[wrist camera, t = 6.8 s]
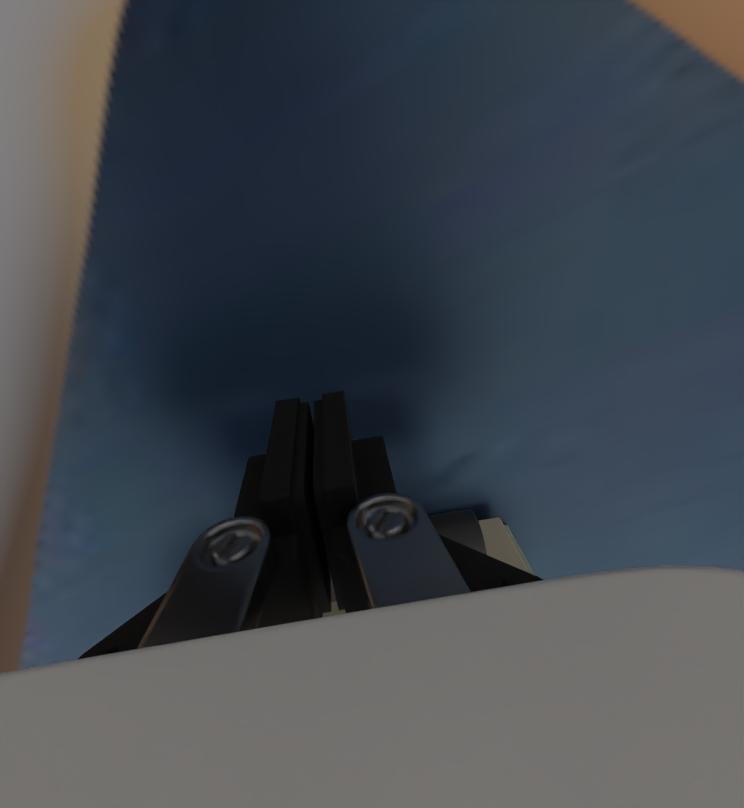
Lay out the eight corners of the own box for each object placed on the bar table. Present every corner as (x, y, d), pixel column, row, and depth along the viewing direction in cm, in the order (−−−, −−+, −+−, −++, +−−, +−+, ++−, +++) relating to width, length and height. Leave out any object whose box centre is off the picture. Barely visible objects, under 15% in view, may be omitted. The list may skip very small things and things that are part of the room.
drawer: (153, 468, 15) (13, 706, 8) (498, 413, 16) (641, 595, 9) (272, 778, 23) (251, 1041, 16) (503, 735, 23) (582, 972, 16)
